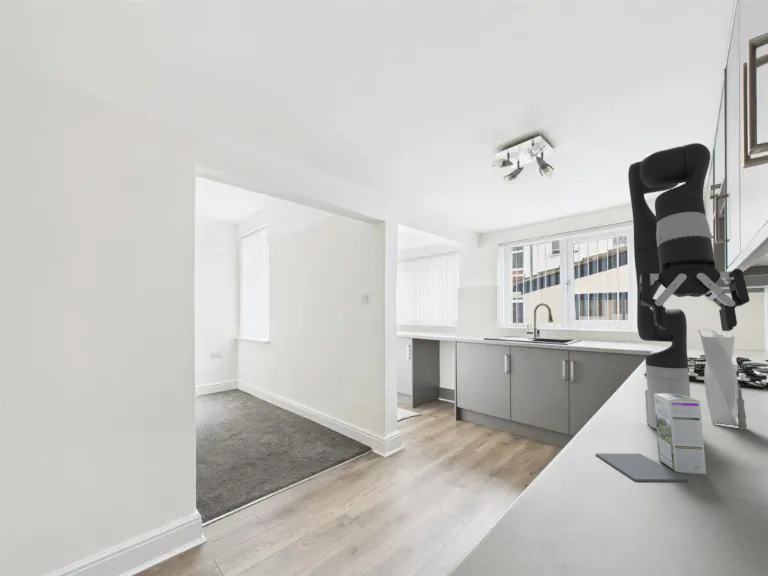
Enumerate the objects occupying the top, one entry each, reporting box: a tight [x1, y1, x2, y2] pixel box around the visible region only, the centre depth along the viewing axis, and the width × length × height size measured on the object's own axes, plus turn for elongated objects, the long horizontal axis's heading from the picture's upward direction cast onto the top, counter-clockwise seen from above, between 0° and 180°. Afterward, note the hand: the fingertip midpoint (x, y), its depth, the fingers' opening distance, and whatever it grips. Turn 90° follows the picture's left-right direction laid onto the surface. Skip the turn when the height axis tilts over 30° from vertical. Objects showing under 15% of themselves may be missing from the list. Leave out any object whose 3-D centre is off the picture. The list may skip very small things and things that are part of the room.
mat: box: [595, 453, 689, 483], centre depth 70 cm, size 12×10×1 cm
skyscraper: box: [697, 327, 748, 429], centre depth 100 cm, size 8×8×28 cm
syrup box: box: [654, 393, 707, 476], centre depth 71 cm, size 6×6×14 cm
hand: (694, 329), depth 58 cm, fingers open, 8 cm apart
